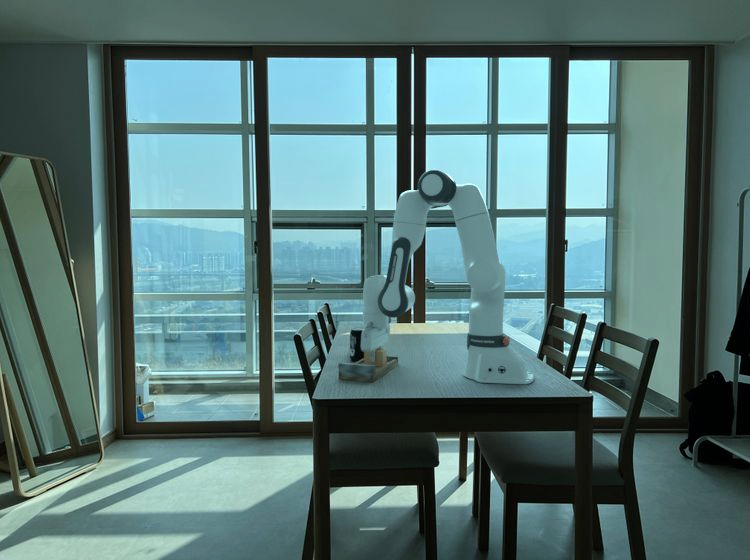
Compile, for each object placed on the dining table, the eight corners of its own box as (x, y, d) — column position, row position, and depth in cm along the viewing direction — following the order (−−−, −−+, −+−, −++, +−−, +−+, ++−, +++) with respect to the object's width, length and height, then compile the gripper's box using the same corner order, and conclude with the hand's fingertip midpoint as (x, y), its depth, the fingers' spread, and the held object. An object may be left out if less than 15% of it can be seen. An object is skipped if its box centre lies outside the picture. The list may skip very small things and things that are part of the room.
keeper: (386, 363, 184) (386, 349, 183) (382, 366, 180) (382, 352, 180) (368, 362, 186) (368, 348, 186) (364, 364, 182) (364, 350, 182)
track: (398, 364, 188) (398, 350, 188) (373, 382, 164) (373, 366, 163) (367, 361, 192) (367, 348, 192) (338, 378, 168) (338, 363, 167)
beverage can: (365, 362, 191) (365, 330, 190) (348, 361, 193) (348, 329, 192) (369, 358, 198) (369, 327, 197) (352, 358, 199) (352, 327, 198)
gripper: (373, 325, 171) (373, 366, 172) (392, 317, 190) (392, 354, 191) (356, 324, 173) (356, 365, 174) (376, 316, 192) (376, 353, 193)
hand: (375, 359), depth 183 cm, fingers closed on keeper, 4 cm apart
